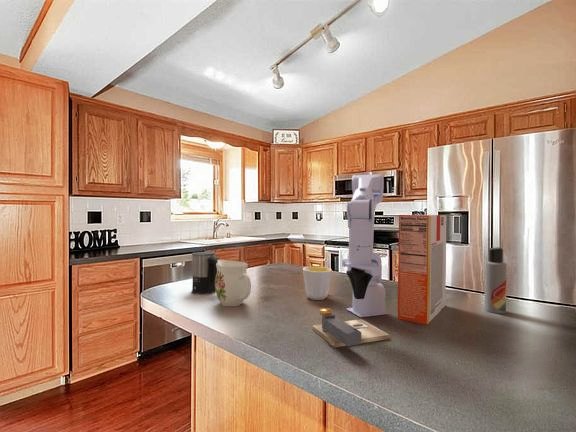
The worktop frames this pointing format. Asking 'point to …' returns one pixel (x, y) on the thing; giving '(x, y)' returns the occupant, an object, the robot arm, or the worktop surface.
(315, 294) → the mug
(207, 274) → the milk frother
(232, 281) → the pitcher
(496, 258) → the lotion bottle
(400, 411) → the worktop surface
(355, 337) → the swing bar
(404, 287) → the cereal box
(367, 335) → the tan piece
